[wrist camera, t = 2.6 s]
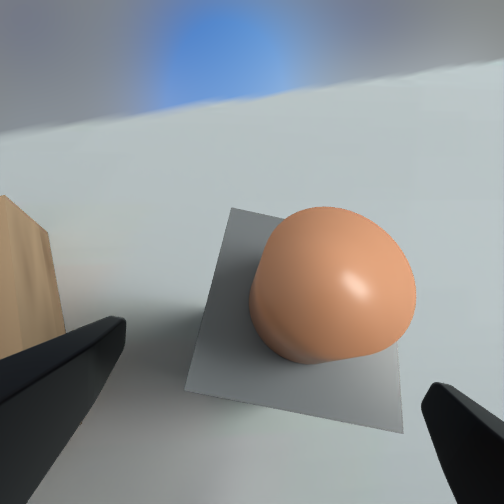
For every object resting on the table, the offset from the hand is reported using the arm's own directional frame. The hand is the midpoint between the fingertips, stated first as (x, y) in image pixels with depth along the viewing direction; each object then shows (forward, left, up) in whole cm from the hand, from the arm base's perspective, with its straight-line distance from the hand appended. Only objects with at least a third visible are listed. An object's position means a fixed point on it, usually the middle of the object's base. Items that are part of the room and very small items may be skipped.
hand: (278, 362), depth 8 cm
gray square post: (+1, +1, -9) cm, 9 cm away
